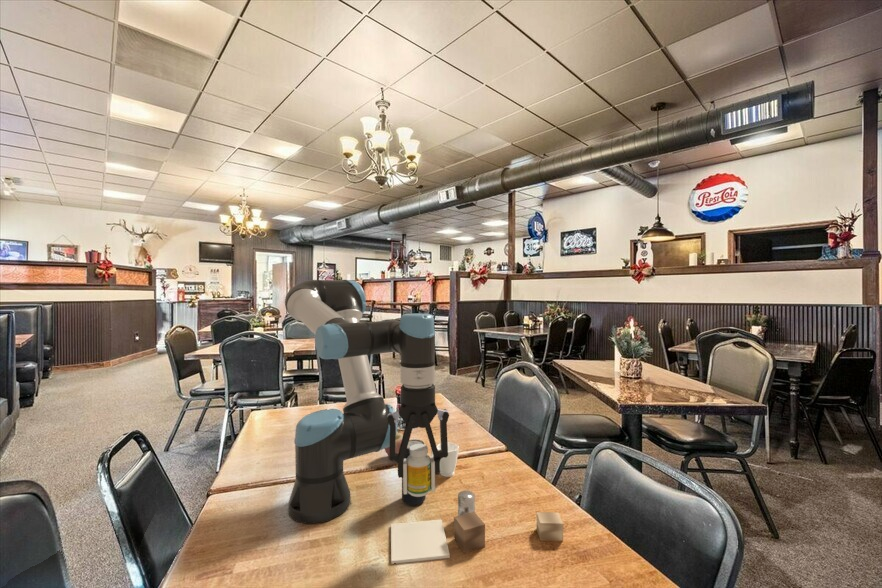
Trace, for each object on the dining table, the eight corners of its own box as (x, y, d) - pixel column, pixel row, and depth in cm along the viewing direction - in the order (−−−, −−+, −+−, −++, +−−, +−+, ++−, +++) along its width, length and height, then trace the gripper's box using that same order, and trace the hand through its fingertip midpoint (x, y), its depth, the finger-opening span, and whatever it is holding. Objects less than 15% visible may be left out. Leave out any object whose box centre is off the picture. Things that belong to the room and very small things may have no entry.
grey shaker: (459, 525, 88) (459, 500, 87) (456, 515, 92) (456, 491, 91) (476, 524, 88) (476, 499, 88) (472, 514, 92) (472, 490, 92)
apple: (380, 462, 120) (380, 437, 120) (390, 452, 127) (390, 428, 127) (403, 465, 117) (403, 440, 117) (412, 455, 125) (412, 431, 125)
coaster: (391, 564, 75) (391, 561, 75) (391, 526, 87) (391, 523, 87) (449, 557, 77) (449, 555, 77) (441, 521, 89) (441, 519, 89)
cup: (448, 481, 107) (448, 454, 107) (423, 470, 114) (423, 444, 114) (463, 472, 113) (463, 446, 112) (439, 462, 119) (439, 437, 119)
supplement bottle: (406, 485, 84) (406, 442, 84) (430, 483, 85) (429, 441, 85) (406, 498, 79) (406, 453, 79) (432, 496, 79) (431, 451, 79)
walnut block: (464, 553, 78) (464, 530, 78) (454, 538, 83) (454, 516, 83) (485, 547, 80) (485, 524, 80) (474, 533, 85) (474, 511, 85)
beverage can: (399, 496, 100) (399, 441, 100) (421, 492, 102) (421, 437, 102) (405, 509, 94) (405, 450, 94) (428, 504, 96) (428, 446, 96)
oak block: (540, 540, 82) (540, 523, 82) (536, 529, 86) (536, 512, 86) (563, 541, 82) (563, 523, 82) (558, 529, 86) (558, 512, 86)
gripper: (374, 390, 77) (375, 503, 77) (462, 386, 79) (463, 495, 79) (376, 381, 84) (377, 484, 84) (456, 378, 87) (457, 478, 87)
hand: (418, 489), depth 82 cm, fingers closed on supplement bottle, 5 cm apart
